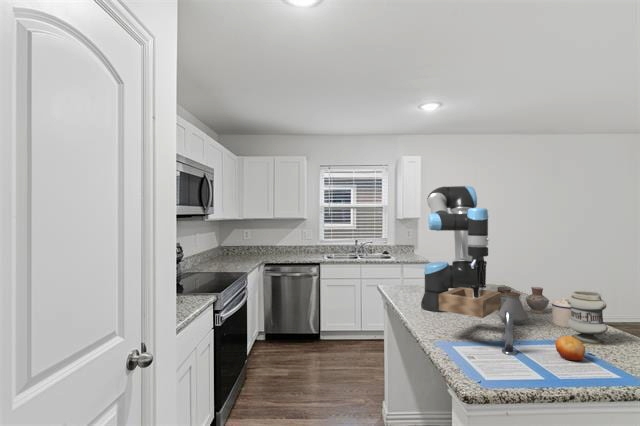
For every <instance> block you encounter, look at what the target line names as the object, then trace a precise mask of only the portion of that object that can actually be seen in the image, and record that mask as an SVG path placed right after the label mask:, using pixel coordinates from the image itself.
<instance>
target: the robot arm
mask: <svg viewBox="0 0 640 426" xmlns="http://www.w3.org/2000/svg"><path fill="white" fill-rule="evenodd" d="M426 202H427V203H426V204H427V205H428V207H429V208H430V212H431V213H430V214H429V215H428V229H429V230H430V231H436V232H442V231H445V232H447V231H451V232H452V231H453V233H454V235H453V237H454V257H455V258H454V259H453V260H452V263H451V264H449V262H447V261H435V262H434V261H433V262H429V263H427V264H425V265H424V273H423V274H424V293H423V295H422V296H423V297H422V299H421V302H420V305H421V306H420V307H421V309H423V310H426V311H430V312H435V313H436V312H437V313H442V312H443V313H444V312H445V313H446V312H447V311H441V310H439V294H441V293H444V292H447V291H449V289H455V288H458V287H463V288H471V289H473V298H479V297H480V290H485V289H486V288H487V286H486V285H487V283H486V281H487V280H486V279H487V263H488V261H486V260H485V258H484V257H489V247H488V245H489V241H490V238H489V214H488V213H489V210H488V209H487V208H485V207H477V206H478V197H477V193H476V190H475V188H474V187H473V186H471V185H470V186H469V185H468V186H467V185H462V186H459V185H457V186H455V185H454V186H441V187H437V188H435V189H434V190H432V191H431V192H430V193H429V194H428V195H427V198H426ZM448 209H449V210H448ZM449 211H450V213H449ZM484 288H485V289H484ZM447 313H448V312H447Z"/></svg>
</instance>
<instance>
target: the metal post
mask: <svg viewBox="0 0 640 426" xmlns="http://www.w3.org/2000/svg"><path fill="white" fill-rule="evenodd" d="M501 353H503V354H505V355H508V356H517V351H516V350H514V325H513V312H511V311H505V322H504V348H502V349H501Z"/></svg>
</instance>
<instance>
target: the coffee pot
mask: <svg viewBox="0 0 640 426" xmlns="http://www.w3.org/2000/svg"><path fill="white" fill-rule="evenodd" d="M505 294H506V299H505V298H502V297H501V299H502V300H504V303H503V305H502V307H501V309H499V312H498V314H497V315H498V317H499V319H500V320H502V321H503V323H505V311H511V312H513V326H516V325H517V326H518V325H519V326H520V325H523V324H524V323H525V322H526V323H527V321H528V318H529V317H528V314H527V313H526V310H525V309H524V306H523V304H522V303H523V302H522V301H521V298H520V297H521V296H522V294H521V293H519V292H516V291H511V292H505Z"/></svg>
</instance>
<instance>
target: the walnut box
mask: <svg viewBox="0 0 640 426" xmlns="http://www.w3.org/2000/svg"><path fill="white" fill-rule="evenodd" d="M500 308H501V292H498V291H492V290H486V289H484V290H480V297H479V298H473V289H471V288H463V287H458V288H451V289H450V290H449V289H448V291H447V292H444V293H441V294H439V310H441V311H447V313H448V312H449V313H452V314H458V315H463V316H468V317H469V316H470V317H474V318H479V319H484V318H486V317H488V316H489V315H490V314H492V313H494V312H496V311H498V310H500Z"/></svg>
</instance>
